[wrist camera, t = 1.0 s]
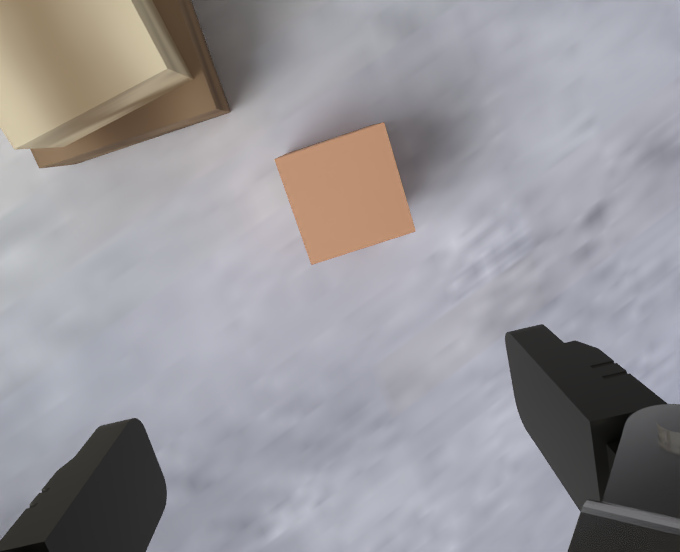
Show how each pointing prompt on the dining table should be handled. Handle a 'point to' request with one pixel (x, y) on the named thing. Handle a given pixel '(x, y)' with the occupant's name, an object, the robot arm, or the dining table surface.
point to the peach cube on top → (346, 193)
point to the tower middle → (80, 66)
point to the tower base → (164, 112)
